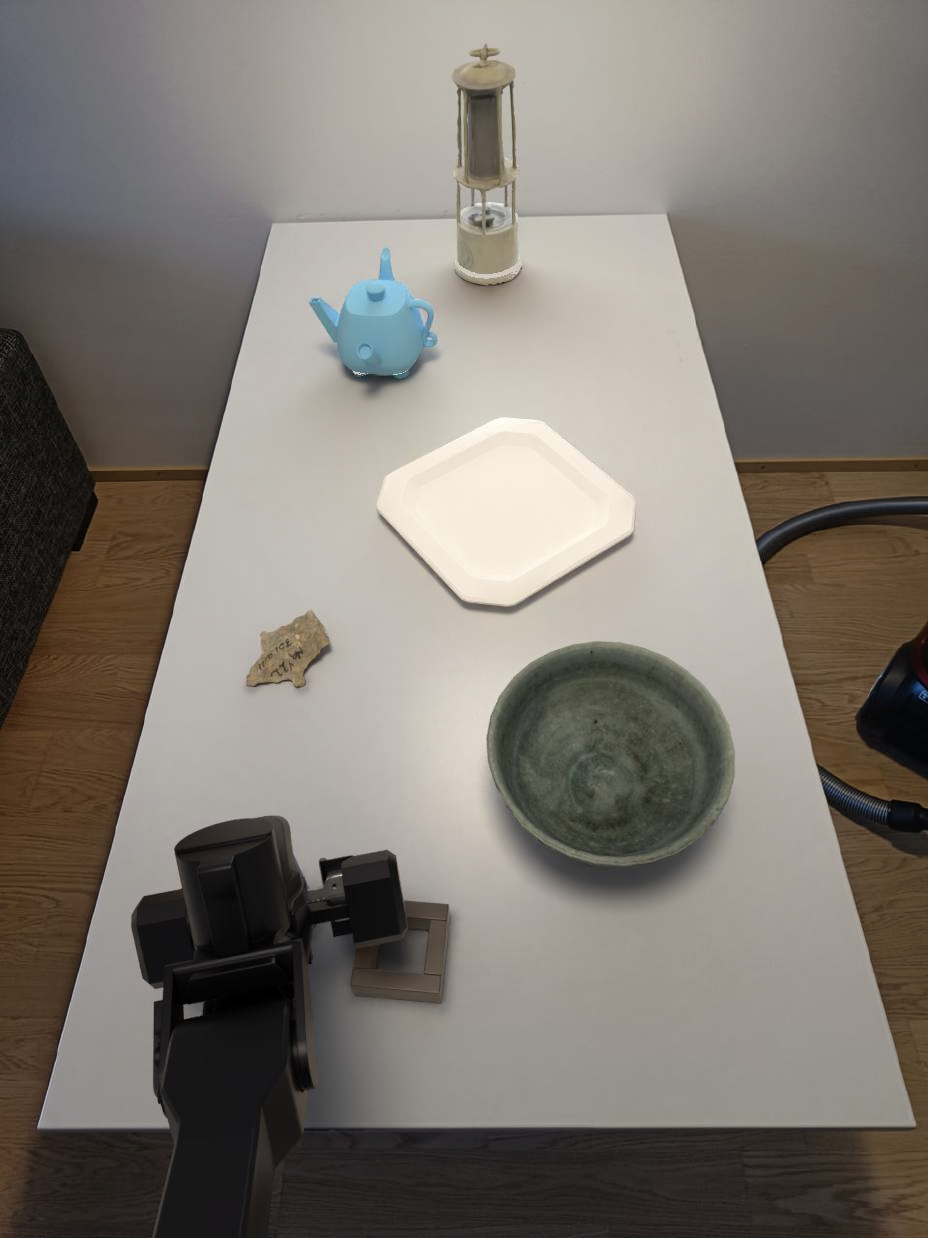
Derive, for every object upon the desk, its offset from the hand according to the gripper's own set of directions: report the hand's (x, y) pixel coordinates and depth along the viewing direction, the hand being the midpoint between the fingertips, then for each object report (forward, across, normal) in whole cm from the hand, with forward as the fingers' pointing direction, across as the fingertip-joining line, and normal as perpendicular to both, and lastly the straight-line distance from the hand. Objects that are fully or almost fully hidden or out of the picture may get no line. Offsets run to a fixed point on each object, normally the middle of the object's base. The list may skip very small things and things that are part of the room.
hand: (283, 871), depth 71 cm
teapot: (+57, -17, -47) cm, 76 cm away
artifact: (+23, -1, -13) cm, 27 cm away
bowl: (+8, -28, +2) cm, 29 cm away
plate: (+34, -27, -24) cm, 50 cm away
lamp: (+72, -36, -62) cm, 101 cm away
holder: (0, -8, +9) cm, 12 cm away
